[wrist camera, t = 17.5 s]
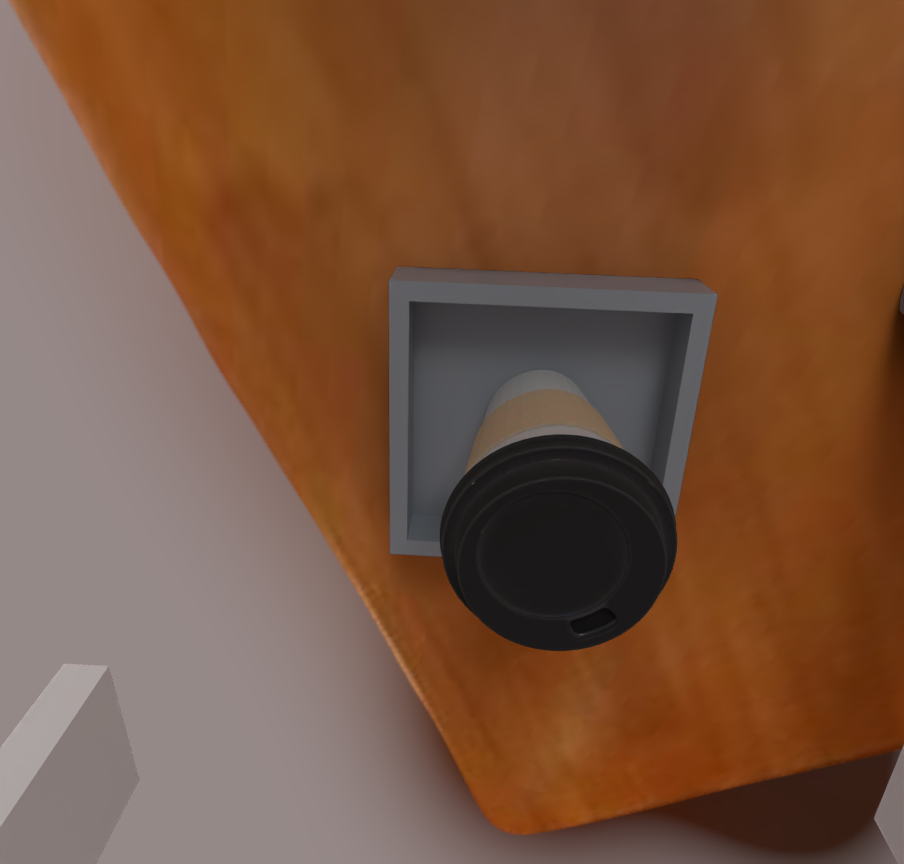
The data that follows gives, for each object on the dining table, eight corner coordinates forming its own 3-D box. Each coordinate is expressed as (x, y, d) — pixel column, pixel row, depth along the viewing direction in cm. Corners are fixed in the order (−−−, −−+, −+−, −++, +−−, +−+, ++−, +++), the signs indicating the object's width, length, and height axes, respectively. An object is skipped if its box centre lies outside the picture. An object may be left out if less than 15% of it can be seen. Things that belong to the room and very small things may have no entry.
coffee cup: (555, 515, 43) (585, 702, 29) (424, 435, 41) (390, 595, 27) (655, 395, 39) (743, 543, 26) (517, 303, 37) (531, 409, 24)
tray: (397, 266, 38) (388, 280, 34) (698, 279, 37) (717, 294, 34) (397, 522, 44) (389, 553, 41) (652, 536, 44) (665, 569, 40)
